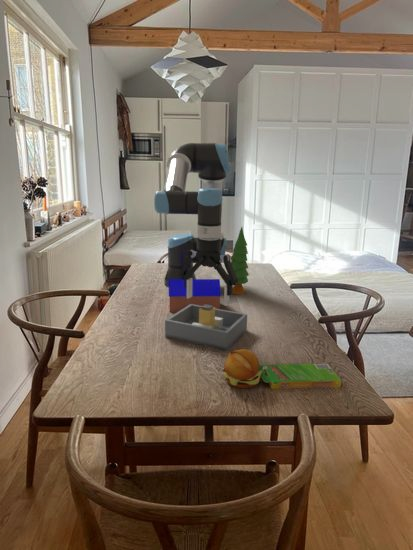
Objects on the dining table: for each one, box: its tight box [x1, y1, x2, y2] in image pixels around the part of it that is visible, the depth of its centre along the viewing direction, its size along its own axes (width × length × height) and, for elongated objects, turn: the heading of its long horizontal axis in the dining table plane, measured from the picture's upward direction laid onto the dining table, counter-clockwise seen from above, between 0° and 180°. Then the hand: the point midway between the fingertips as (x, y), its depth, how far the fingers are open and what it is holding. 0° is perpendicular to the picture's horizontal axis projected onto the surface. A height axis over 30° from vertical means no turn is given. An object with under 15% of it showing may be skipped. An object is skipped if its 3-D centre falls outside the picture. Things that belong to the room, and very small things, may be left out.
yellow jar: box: [199, 304, 215, 329], centre depth 139 cm, size 4×4×9 cm
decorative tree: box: [228, 226, 250, 295], centre depth 182 cm, size 10×9×30 cm
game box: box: [260, 363, 342, 390], centre depth 113 cm, size 3×10×20 cm
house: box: [168, 278, 222, 313], centre depth 165 cm, size 12×20×12 cm, turn 95°
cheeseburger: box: [222, 348, 263, 389], centre depth 110 cm, size 10×11×10 cm
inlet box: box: [164, 304, 248, 351], centre depth 140 cm, size 22×18×6 cm
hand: (207, 300), depth 138 cm, fingers open, 13 cm apart
